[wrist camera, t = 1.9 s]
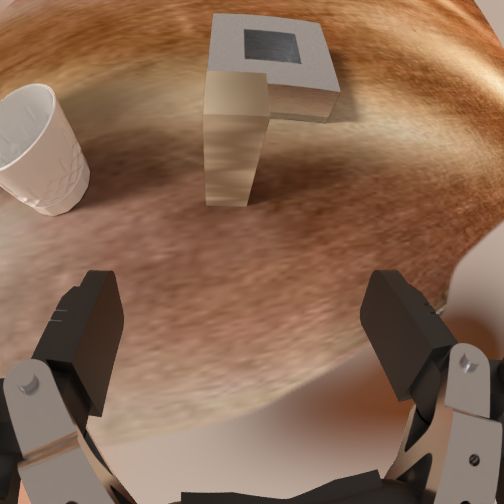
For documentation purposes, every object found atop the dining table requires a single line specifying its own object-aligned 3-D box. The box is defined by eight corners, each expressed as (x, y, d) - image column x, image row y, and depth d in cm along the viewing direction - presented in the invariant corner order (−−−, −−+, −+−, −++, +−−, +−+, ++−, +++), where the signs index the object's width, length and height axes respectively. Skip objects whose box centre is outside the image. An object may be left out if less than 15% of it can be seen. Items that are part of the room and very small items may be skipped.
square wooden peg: (206, 206, 26) (202, 114, 15) (207, 170, 27) (206, 70, 15) (246, 206, 27) (270, 116, 15) (245, 171, 27) (266, 73, 16)
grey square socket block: (206, 116, 28) (206, 81, 24) (212, 45, 32) (213, 13, 27) (324, 123, 30) (340, 92, 25) (309, 52, 33) (319, 23, 28)
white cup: (54, 141, 26) (14, 79, 17) (111, 160, 26) (76, 89, 17) (15, 207, 24) (-43, 159, 14) (69, 235, 24) (10, 186, 14)
